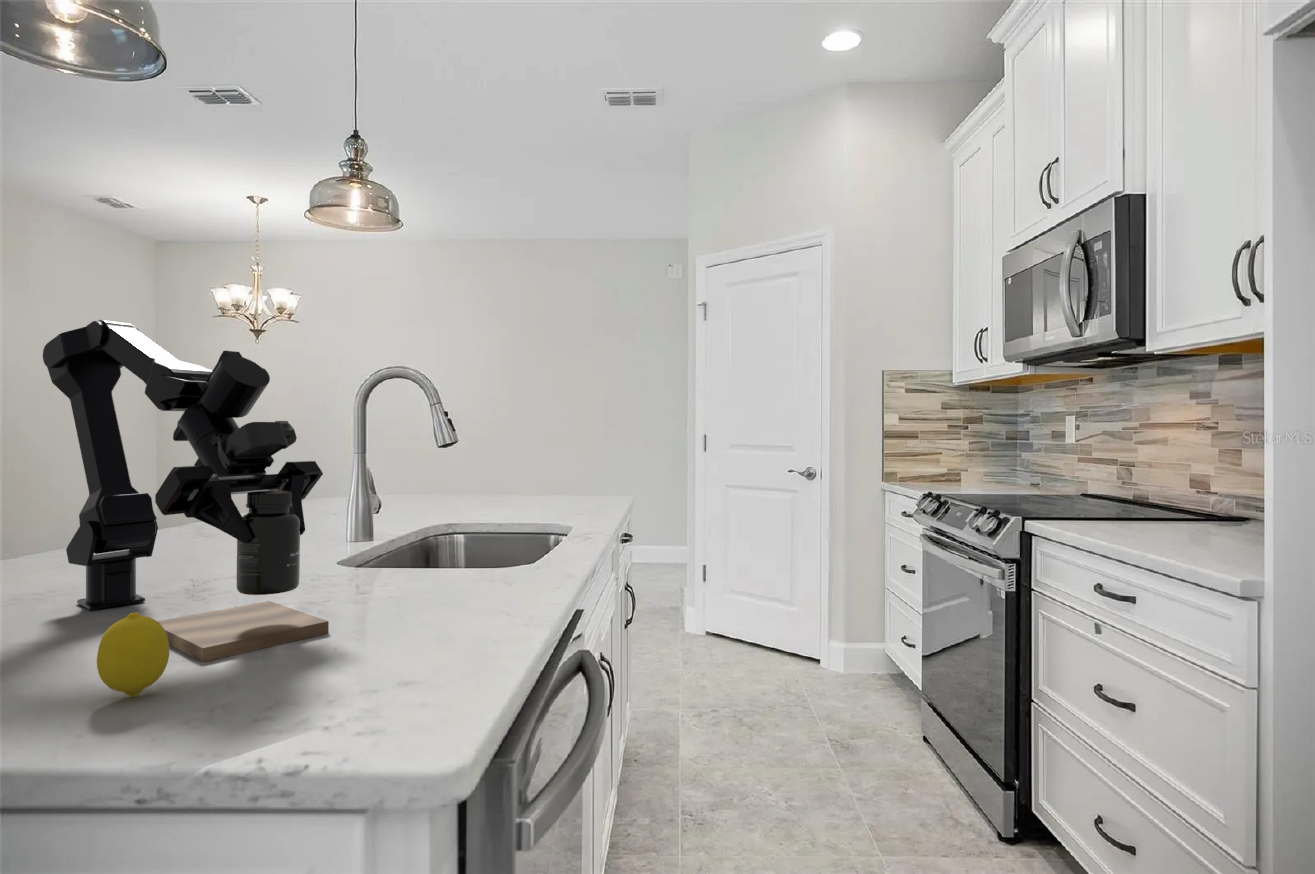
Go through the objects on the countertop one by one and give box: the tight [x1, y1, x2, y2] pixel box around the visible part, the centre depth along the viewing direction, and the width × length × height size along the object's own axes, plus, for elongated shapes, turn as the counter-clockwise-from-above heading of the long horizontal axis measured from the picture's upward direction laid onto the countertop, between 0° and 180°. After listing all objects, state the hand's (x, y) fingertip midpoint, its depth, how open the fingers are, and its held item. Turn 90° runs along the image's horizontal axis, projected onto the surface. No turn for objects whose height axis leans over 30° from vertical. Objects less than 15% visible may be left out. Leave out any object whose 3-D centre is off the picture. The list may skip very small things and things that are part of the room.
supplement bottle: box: [235, 491, 301, 596], centre depth 88 cm, size 7×7×12 cm
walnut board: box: [156, 600, 330, 663], centre depth 88 cm, size 16×14×2 cm
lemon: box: [96, 611, 170, 698], centre depth 68 cm, size 6×6×8 cm
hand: (276, 536), depth 87 cm, fingers closed on supplement bottle, 7 cm apart
